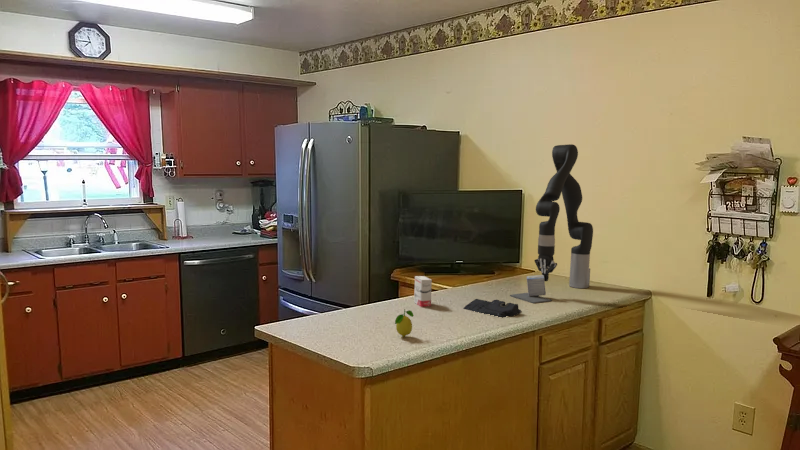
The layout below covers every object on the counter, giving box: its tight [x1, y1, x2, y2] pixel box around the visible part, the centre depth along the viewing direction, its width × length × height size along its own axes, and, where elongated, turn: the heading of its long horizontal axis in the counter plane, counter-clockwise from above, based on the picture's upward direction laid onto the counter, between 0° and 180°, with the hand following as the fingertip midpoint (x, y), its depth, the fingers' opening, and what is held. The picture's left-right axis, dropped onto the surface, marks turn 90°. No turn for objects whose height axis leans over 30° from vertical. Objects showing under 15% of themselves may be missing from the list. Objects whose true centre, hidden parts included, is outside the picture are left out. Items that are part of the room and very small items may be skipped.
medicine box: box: [526, 274, 547, 296], centre depth 267 cm, size 8×4×9 cm, turn 78°
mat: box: [509, 292, 553, 304], centre depth 265 cm, size 11×16×1 cm
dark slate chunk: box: [463, 298, 522, 318], centre depth 241 cm, size 15×22×5 cm
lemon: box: [394, 309, 414, 338], centre depth 201 cm, size 7×6×10 cm
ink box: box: [413, 275, 433, 308], centre depth 248 cm, size 8×5×12 cm, turn 20°
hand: (545, 280), depth 269 cm, fingers closed
